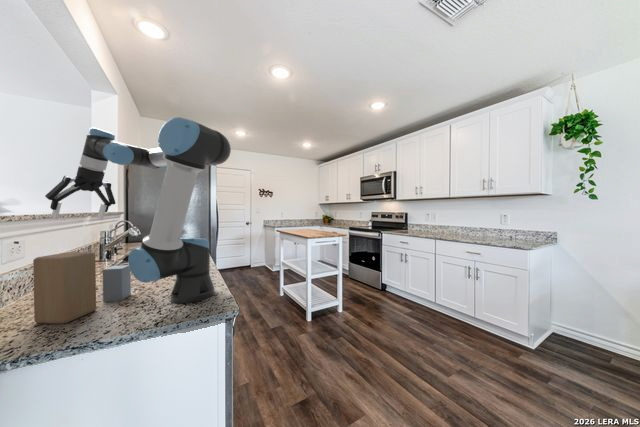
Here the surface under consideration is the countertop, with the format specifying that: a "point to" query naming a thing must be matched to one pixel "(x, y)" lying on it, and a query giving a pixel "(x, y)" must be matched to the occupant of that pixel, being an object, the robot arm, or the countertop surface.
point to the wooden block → (64, 286)
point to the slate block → (116, 283)
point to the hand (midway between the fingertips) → (78, 218)
